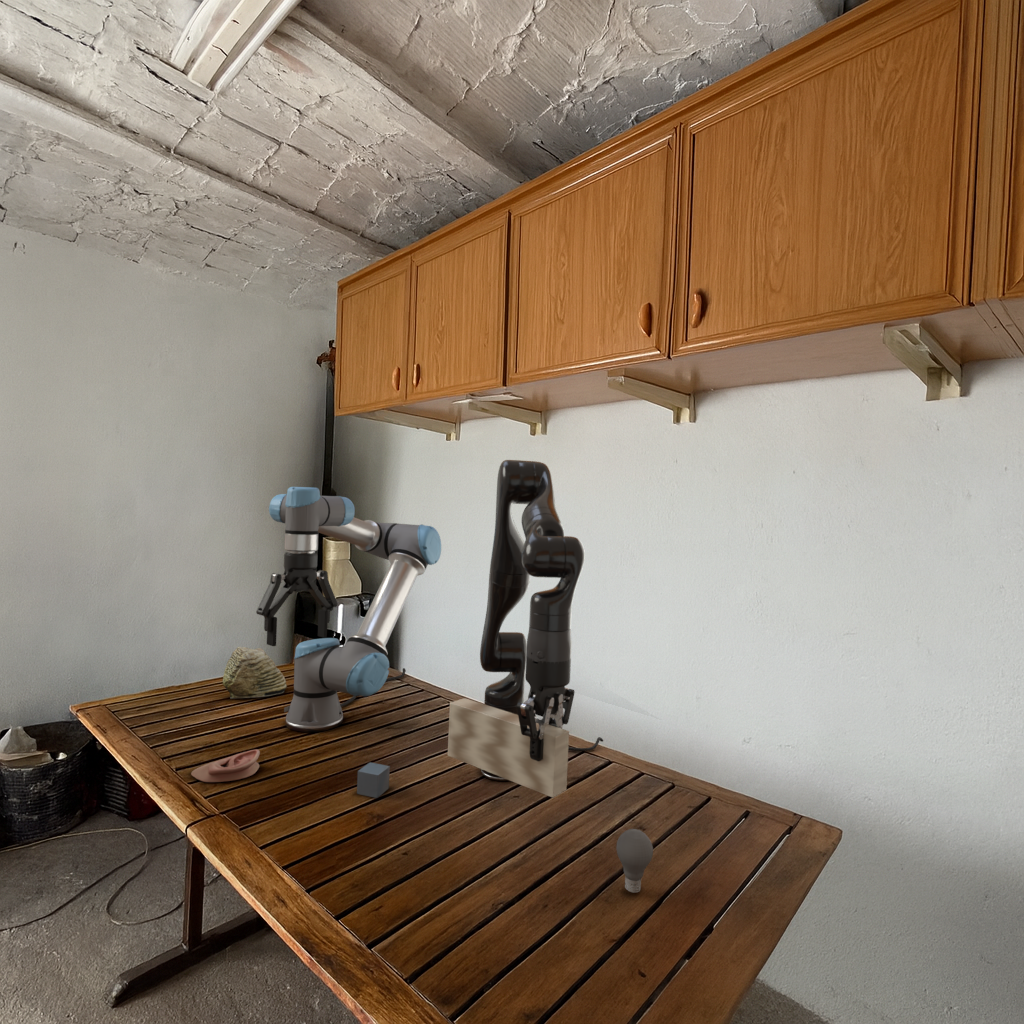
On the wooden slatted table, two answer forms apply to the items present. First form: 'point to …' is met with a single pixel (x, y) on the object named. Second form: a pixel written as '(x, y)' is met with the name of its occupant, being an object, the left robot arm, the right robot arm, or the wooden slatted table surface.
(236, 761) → the anatomical model
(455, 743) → the ash block
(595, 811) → the wooden slatted table surface
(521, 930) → the wooden slatted table surface
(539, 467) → the right robot arm
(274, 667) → the fossil
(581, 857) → the wooden slatted table surface
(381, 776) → the slate cube
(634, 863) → the light bulb
